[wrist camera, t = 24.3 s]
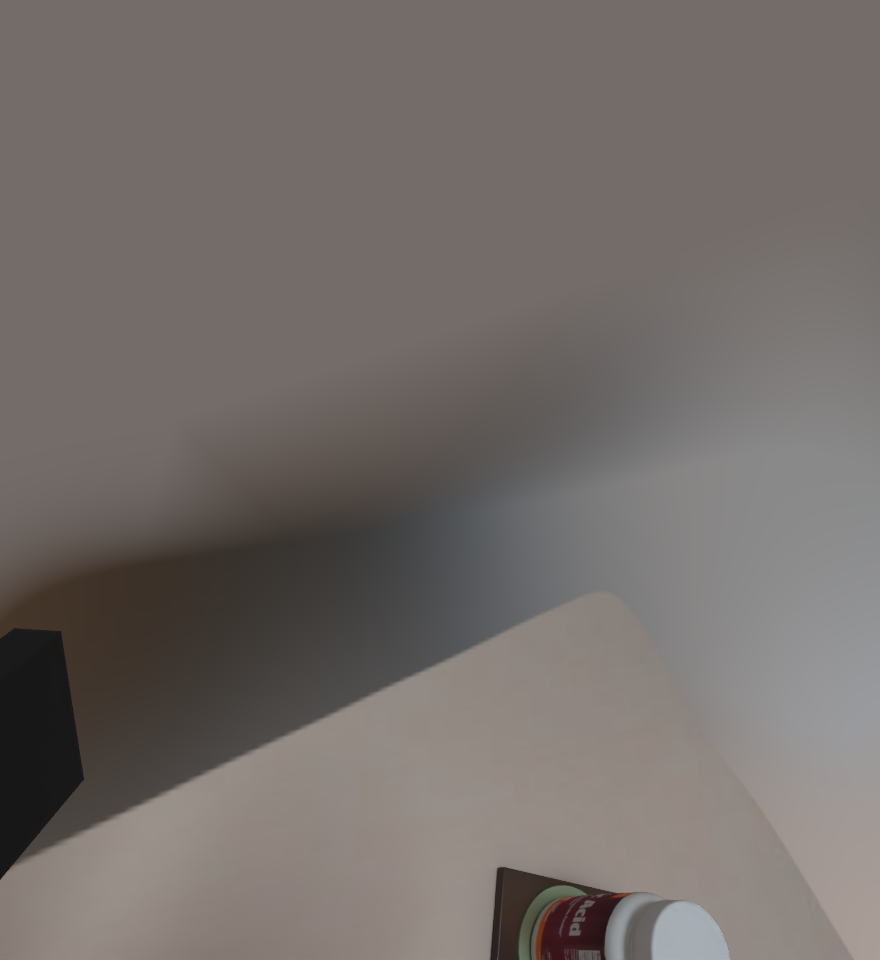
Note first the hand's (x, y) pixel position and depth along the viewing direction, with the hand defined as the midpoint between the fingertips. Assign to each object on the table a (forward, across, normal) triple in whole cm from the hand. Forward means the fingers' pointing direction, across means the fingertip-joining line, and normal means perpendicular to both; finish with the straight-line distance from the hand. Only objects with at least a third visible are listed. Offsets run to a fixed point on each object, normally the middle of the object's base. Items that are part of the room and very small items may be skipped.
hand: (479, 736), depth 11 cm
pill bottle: (+18, +4, -25) cm, 31 cm away
